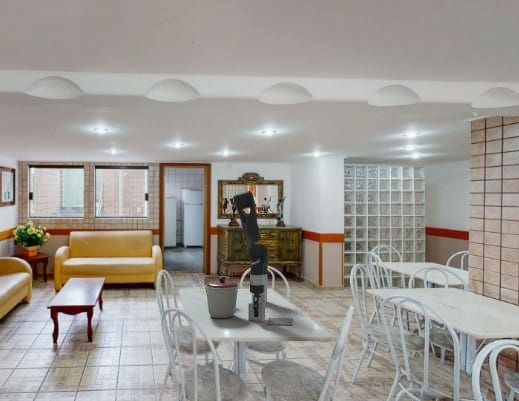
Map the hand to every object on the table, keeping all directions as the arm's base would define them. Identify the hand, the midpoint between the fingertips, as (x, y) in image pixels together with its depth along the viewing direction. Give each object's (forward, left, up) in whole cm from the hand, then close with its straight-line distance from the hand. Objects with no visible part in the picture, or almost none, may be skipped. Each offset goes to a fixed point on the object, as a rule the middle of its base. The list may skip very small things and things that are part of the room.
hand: (256, 314), depth 220 cm
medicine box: (0, 0, -3) cm, 3 cm away
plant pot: (-31, -27, -3) cm, 41 cm away
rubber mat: (+3, +12, -3) cm, 13 cm away
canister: (-5, -19, -3) cm, 20 cm away
